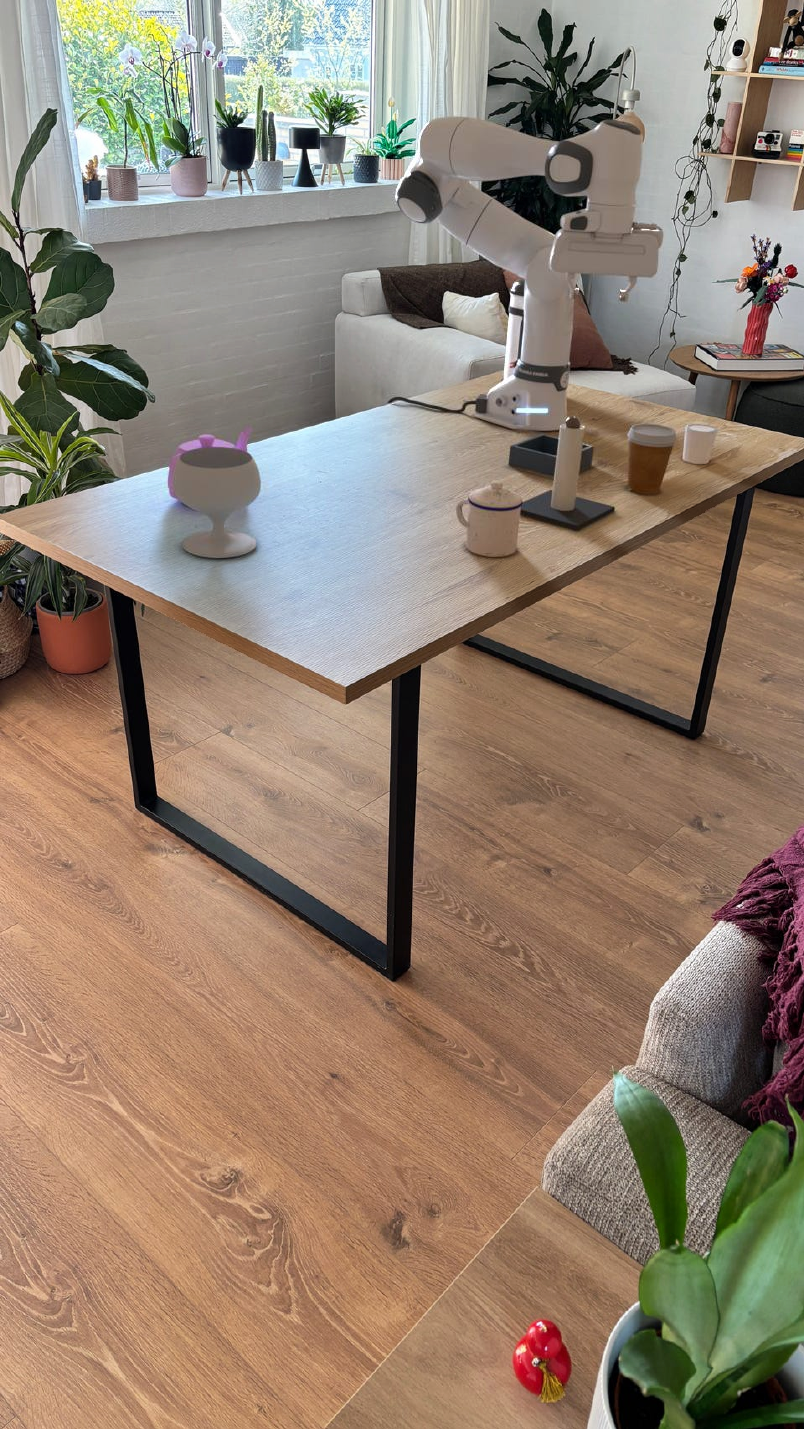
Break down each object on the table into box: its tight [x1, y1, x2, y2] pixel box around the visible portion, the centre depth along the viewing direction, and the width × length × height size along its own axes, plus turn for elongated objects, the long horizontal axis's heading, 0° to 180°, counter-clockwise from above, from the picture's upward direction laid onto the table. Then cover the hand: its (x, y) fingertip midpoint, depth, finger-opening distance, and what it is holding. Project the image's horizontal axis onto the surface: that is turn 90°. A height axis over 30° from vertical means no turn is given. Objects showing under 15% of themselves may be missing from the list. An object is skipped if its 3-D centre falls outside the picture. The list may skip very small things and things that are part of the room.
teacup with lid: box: [455, 480, 524, 558], centre depth 183 cm, size 12×9×12 cm
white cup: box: [682, 423, 719, 465], centre depth 234 cm, size 7×7×7 cm
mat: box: [520, 489, 616, 532], centre depth 202 cm, size 14×14×1 cm
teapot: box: [167, 427, 254, 502], centre depth 198 cm, size 20×13×12 cm, turn 141°
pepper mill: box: [551, 415, 586, 511], centre depth 198 cm, size 4×4×17 cm
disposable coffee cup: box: [626, 423, 678, 496], centre depth 213 cm, size 10×10×12 cm
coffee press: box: [500, 277, 525, 382], centre depth 276 cm, size 17×16×30 cm
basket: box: [508, 433, 595, 478], centre depth 225 cm, size 13×13×5 cm
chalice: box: [173, 447, 262, 559], centre depth 176 cm, size 14×14×15 cm
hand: (598, 299), depth 208 cm, fingers open, 8 cm apart
